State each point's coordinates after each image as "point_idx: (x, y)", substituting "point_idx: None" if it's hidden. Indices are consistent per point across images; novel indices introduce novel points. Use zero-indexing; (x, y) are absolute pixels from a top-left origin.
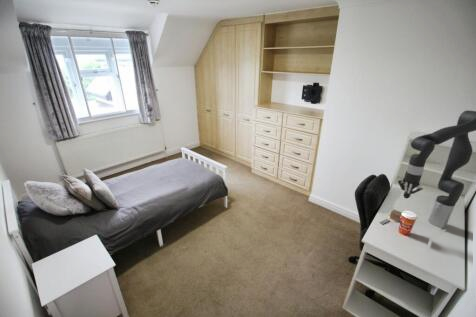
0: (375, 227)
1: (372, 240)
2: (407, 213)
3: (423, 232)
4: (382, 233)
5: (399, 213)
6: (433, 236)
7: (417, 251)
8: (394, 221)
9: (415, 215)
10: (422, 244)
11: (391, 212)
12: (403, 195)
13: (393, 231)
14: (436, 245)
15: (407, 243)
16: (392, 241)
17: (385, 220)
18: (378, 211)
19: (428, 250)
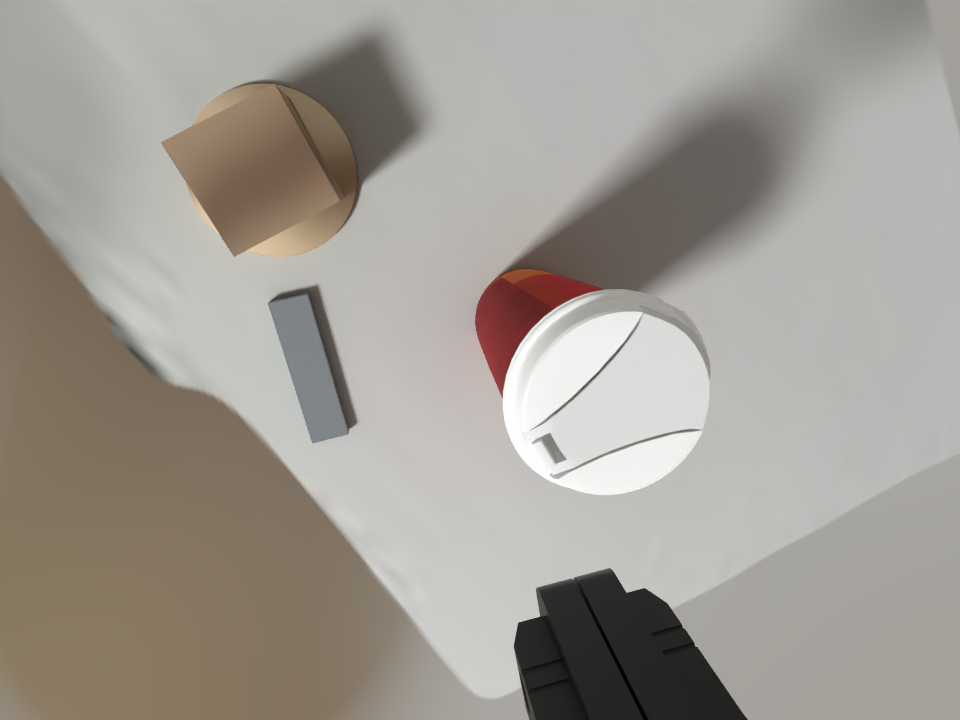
0: (372, 534)
1: (517, 674)
2: (597, 436)
3: (591, 79)
4: (469, 534)
5: (295, 160)
6: (676, 36)
7: (739, 425)
8: (329, 237)
9: (683, 358)
10: (705, 297)
11: (238, 253)
12: (527, 707)
13: (476, 406)
14: (766, 170)
15: None
16: (581, 528)
17: (296, 348)
18: (65, 248)
19: (770, 320)
